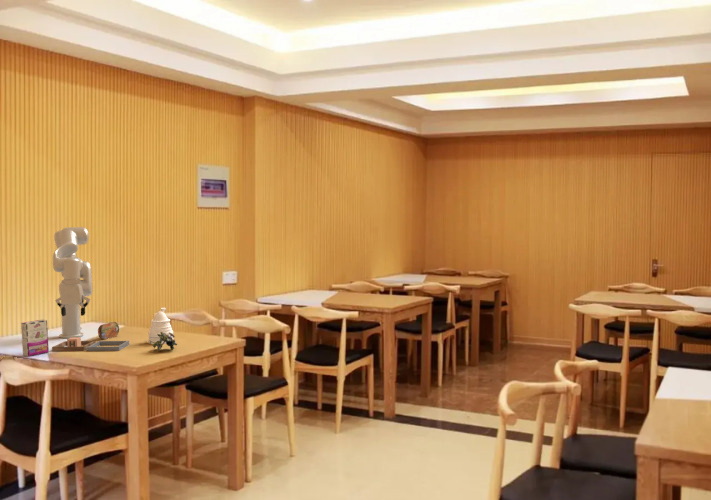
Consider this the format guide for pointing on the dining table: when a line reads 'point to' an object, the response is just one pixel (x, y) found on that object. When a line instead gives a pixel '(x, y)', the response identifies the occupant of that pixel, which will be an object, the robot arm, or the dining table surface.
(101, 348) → the grey frame
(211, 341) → the dining table surface
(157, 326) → the honey pot
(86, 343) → the walnut frame
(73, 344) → the letter cube
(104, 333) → the tin
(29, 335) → the candy bar box
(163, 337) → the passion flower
